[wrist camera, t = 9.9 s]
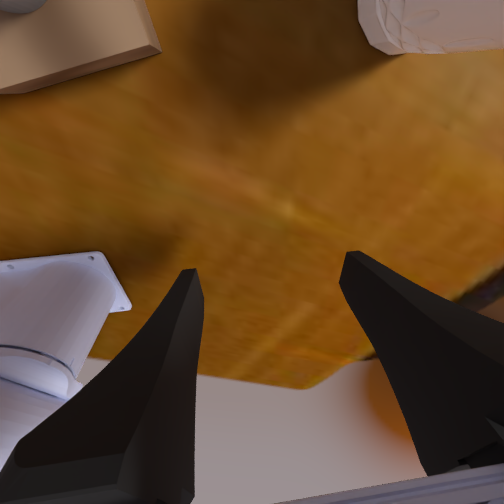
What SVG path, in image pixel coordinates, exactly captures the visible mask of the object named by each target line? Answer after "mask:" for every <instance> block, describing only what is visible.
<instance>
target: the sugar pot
mask: <svg viewBox="0 0 504 504" xmlns="http://www.w3.org/2000/svg"><path fill="white" fill-rule="evenodd" d="M45 2H46V0H0V10H3V11H6V12H11V13H20V14H22V13H29V12H32V11H35V10H37V9H38V8H40V7H41V6H42V5H43V4H44V3H45Z"/></svg>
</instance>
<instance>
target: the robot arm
mask: <svg viewBox="0 0 504 504" xmlns="http://www.w3.org/2000/svg"><path fill="white" fill-rule="evenodd" d="M90 256H92V257H94V258H92V257H90ZM339 284H340V287H341V289H342V292H343V294H344V296H345V299H346V301H347V303H348V304H349V306H350V308H351V310H352V311H353V313H354V315H355V316H356V318H357V320H358V321H359V323H360V325H361V327H362V328H363V330H364V332H365V333H366V335H367V337H368V338H369V340H370V342H371V343H372V345H373V347H374V349H375V351H376V353H377V355H378V357H379V359H380V362H381V363H382V366H383V368H384V370H385V372H386V374H387V377H388V379H389V381H390V384H391V386H392V388H393V390H394V393H395V395H396V398H397V400H398V403H399V405H400V408H401V410H402V413H403V415H404V418H405V420H406V423H407V426H408V429H409V431H410V434H411V437H412V440H413V442H414V445H415V448H416V451H417V454H418V456H419V459H420V463H421V465H422V466H423V468H424V470H425V472H426V474H427V476H428V477H422V478H416V479H411V480H406V481H399V482H394V483H388V484H382V485H377V486H371V487H365V488H360V489H354V490H348V491H343V492H337V493H331V494H325V495H320V496H314V497H308V498H303V499H297V500H291V501H286V502H280V503H274V504H504V323H502V322H499V321H496V320H494V319H491V318H488V317H486V316H484V315H481V314H479V313H476V312H474V311H471V310H469V309H467V308H464V307H462V306H460V305H458V304H455V303H453V302H451V301H449V300H447V299H445V298H443V297H440V296H438V295H436V294H434V293H432V292H430V291H428V290H427V289H425V288H423V287H421V286H419V285H417V284H415V283H413V282H412V281H410V280H408V279H406V278H405V277H403V276H401V275H399V274H398V273H396V272H394V271H393V270H391V269H389V268H388V267H386V266H384V265H383V264H381V263H379V262H378V261H376V260H375V259H373V258H371V257H369V256H368V255H366V254H364V253H362V252H361V251H351V252H346V256H345V260H344V264H343V268H342V272H341V276H340V280H339ZM131 307H132V304H131V303H130V301H129V299H128V297H127V295H126V294H125V292H124V290H123V288H122V286H121V285H120V283H119V281H118V279H117V278H116V276H115V274H114V272H113V270H112V269H111V267H110V265H109V263H108V261H107V260H106V258H105V256H104V254H103V253H101V252H99V251H94V252H84V253H74V254H64V255H55V256H45V257H35V258H25V259H15V260H5V261H0V504H190V503H191V502H192V500H193V498H194V496H195V494H194V493H195V490H194V489H195V488H194V451H195V446H194V445H195V402H196V377H197V366H198V358H199V350H200V343H201V336H202V328H203V320H204V297H203V293H202V289H201V285H200V281H199V277H198V273H197V270H196V268H194V269H185V270H182V271H181V273H180V274H179V276H178V278H177V279H176V281H175V282H174V284H173V286H172V287H171V289H170V290H169V292H168V293H167V295H166V296H165V298H164V299H163V301H162V302H161V303H160V305H159V306H158V308H157V309H156V310H155V312H154V313H153V314H152V316H151V317H150V318H149V319H148V321H147V322H146V323H145V325H144V326H143V327H142V328H141V329H140V331H139V332H138V333H137V334H136V335H135V336H134V338H133V339H132V340H131V341H130V342H129V343H128V344H127V345H126V346H125V348H124V349H123V350H122V351H121V352H120V353H119V354H118V355H117V356H116V357H115V358H114V359H113V360H112V361H111V362H110V363H109V364H108V365H107V366H106V367H105V368H104V369H103V370H102V371H101V372H100V373H99V374H98V375H97V376H95V377H94V378H93V379H92V380H91V381H90V382H89V383H88V384H87V385H85V386H84V387H83V388H82V386H83V384H82V383H80V382H78V381H76V378H77V375H78V374H79V371H80V370H81V368H82V365H83V364H84V362H85V360H86V358H87V356H88V354H89V352H90V350H91V348H92V346H93V344H94V342H95V340H96V338H97V336H98V334H99V332H100V330H101V328H102V326H103V324H104V322H105V320H106V318H107V316H108V314H109V313H110V312H118V311H127V310H130V309H131ZM81 388H82V389H81Z"/></svg>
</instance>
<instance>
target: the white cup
mask: <svg viewBox="0 0 504 504" xmlns="http://www.w3.org/2000/svg"><path fill="white" fill-rule="evenodd" d="M357 2H358V21H359V23H360V25H361V27H362V29H363V31H364V33H365V35H366V37H367V39H368V42H369V44H370V45H371V46H373V47H375V48H377V49H379V50H381V51H382V52H384V53H386V54H388V55H396V54H404V53H422V54H441V53H461V52H473V51H485V50H497V49H504V0H357Z"/></svg>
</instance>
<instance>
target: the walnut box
mask: <svg viewBox="0 0 504 504" xmlns="http://www.w3.org/2000/svg"><path fill="white" fill-rule="evenodd" d="M158 53H162V49H161V47H160V44H159V41H158V38H157V35H156V32H155V30H154V27H153V24H152V21H151V18H150V15H149V13H148V10H147V7H146V4H145V1H144V0H46V2H45V3H44V4H43V5H42V6H41V7H40V8H38V9H37V10H35V11H32V12H29V13H22V14H20V13H11V12H6V11H3V10H0V94H21V93H26V92H30V91H33V90H37V89H40V88H43V87H47V86H50V85H53V84H57V83H60V82H64V81H67V80H70V79H74V78H77V77H80V76H84V75H87V74H91V73H94V72H97V71H101V70H104V69H107V68H111V67H114V66H118V65H121V64H124V63H128V62H131V61H134V60H138V59H141V58H145V57H148V56H151V55H155V54H158Z"/></svg>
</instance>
